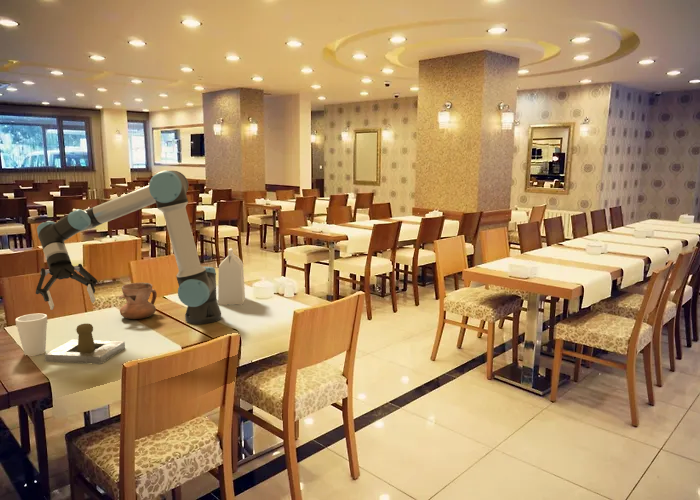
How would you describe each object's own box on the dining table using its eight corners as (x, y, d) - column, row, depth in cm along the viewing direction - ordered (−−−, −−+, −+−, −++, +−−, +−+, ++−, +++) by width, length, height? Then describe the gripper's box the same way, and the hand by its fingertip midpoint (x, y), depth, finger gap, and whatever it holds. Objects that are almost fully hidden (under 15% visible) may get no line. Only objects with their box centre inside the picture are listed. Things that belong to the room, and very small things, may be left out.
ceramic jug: (130, 324, 209) (128, 291, 207) (110, 318, 217) (109, 286, 214) (167, 315, 224) (166, 284, 221) (147, 309, 232) (146, 279, 229)
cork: (88, 358, 173) (85, 327, 171) (73, 356, 174) (70, 326, 172) (100, 351, 179) (97, 322, 177) (85, 350, 180) (83, 321, 178)
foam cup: (28, 348, 182) (25, 313, 180) (55, 347, 183) (52, 313, 180) (13, 358, 172) (9, 321, 170) (41, 357, 173) (38, 321, 171)
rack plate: (125, 348, 183) (124, 341, 182) (101, 364, 168) (100, 357, 168) (73, 345, 185) (72, 339, 184) (45, 361, 170) (44, 354, 169)
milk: (221, 298, 251) (220, 247, 247) (245, 297, 252) (243, 247, 248) (218, 304, 239) (216, 251, 235) (242, 304, 241) (241, 251, 236)
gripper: (91, 259, 200) (107, 303, 192) (17, 268, 182) (32, 316, 174) (94, 247, 195) (111, 292, 187) (19, 255, 178) (35, 305, 170)
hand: (73, 304), depth 181 cm, fingers open, 13 cm apart
